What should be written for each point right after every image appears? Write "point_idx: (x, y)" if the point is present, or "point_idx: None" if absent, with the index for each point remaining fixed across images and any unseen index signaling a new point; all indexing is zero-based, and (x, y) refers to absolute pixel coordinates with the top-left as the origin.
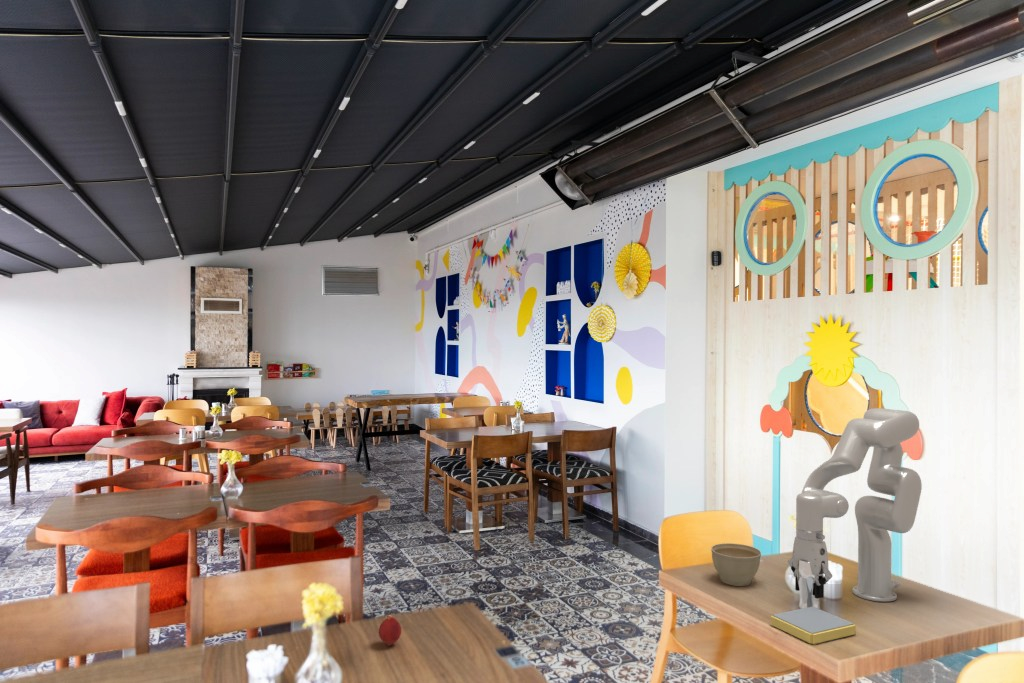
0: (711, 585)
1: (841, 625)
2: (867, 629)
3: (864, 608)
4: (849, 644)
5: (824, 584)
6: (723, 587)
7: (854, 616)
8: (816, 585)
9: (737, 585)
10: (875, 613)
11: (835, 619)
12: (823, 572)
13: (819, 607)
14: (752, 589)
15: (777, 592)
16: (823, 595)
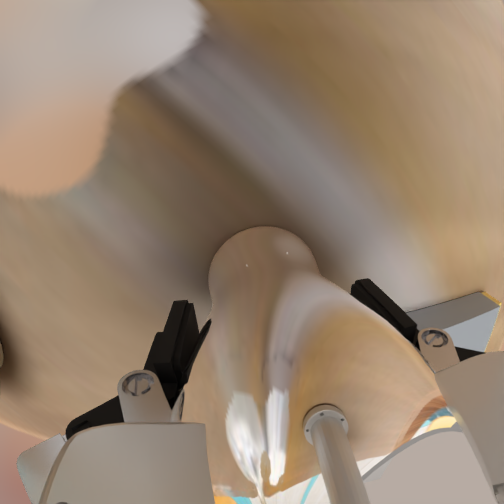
0: (14, 400)
1: (482, 350)
2: (485, 217)
3: (349, 14)
4: None
5: (432, 334)
6: (20, 390)
7: (412, 143)
8: None
9: (2, 356)
10: (406, 34)
11: (464, 343)
12: (464, 368)
13: (313, 257)
14: (18, 332)
15: (38, 266)
16: (370, 283)
